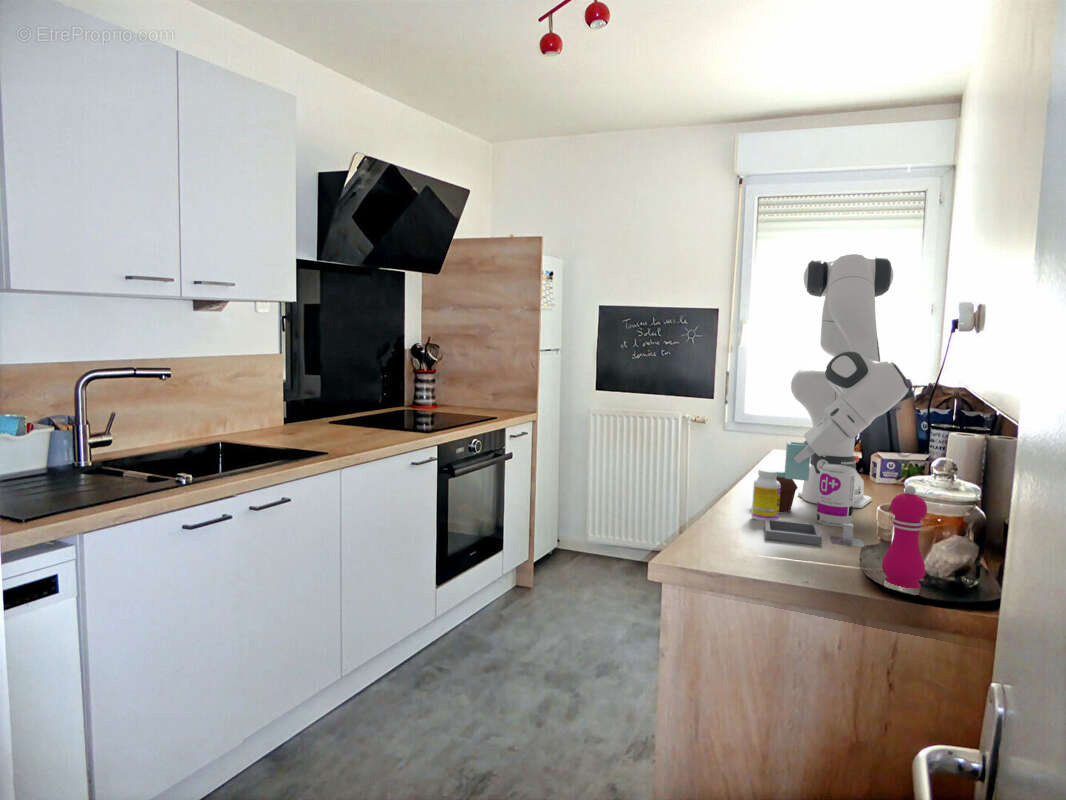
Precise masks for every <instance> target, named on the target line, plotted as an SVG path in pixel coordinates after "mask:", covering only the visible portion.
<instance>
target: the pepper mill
mask: <svg viewBox="0 0 1066 800" xmlns="http://www.w3.org/2000/svg"><path fill="white" fill-rule="evenodd" d="M916 491H917V489H916V488H915V487H914V486H913V485H907V486H906V487H905V488H904V493H900V494H897V495H896V496H895V497H894V498H893V499H892V500H891V501H890V511H891V513H892V515H893V516H894V517H893V518H892V523H891V526H892V527H894V528H893V537H892V541H891V543H890V546H889V547H888V549H887V551H886V552H885V554H884V556H883V559H882V561H881V562H882V563H881V569H882V572H883V573H884V574H885V576H886V577H884V578H885V580H886V581H887V582H889V583H891V584H894V585H897V586H901V587H905V588H915V589H916V588H920V587H922V585H921V583H919V581H921V580H922V579H923V578H924V577H925V575H926V566H925V565H926V564H925V560H924V558H923V555H922V553H921V549H920V545H919V544H920V543H919V542H920V541H919V536H920V531H922V530H923V525H924V522H923V521H922V520H923V519H924V518H925V517H926V515H927V512H928V506H927V503H926V501H925V499H923V498H922V497H921V496H919V495H917V494H916Z"/></svg>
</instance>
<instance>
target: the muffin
mask: <svg viewBox="0 0 1066 800" xmlns="http://www.w3.org/2000/svg"><path fill="white" fill-rule="evenodd" d="M757 479H759V477H758V478H757ZM776 480H777V481H778V482H779V483H780V485H781V489H780V503H779V512H783V513H789V512H790V510H791V511H792V507H793V502H794V498H795V494H796V491H797V490H798V486H797V484H796V481H795V480H794V479H785V477H778V476H777V477H776Z"/></svg>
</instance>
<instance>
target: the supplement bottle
mask: <svg viewBox="0 0 1066 800" xmlns="http://www.w3.org/2000/svg"><path fill="white" fill-rule="evenodd" d="M777 476H778V470H776V469H769V468H759V469H758V478H759V479H758V478H756V479H755V480H754V482H753V490H752V501H751V502H752V503H751V504H752V505H751V518H752V520H754V519H755V520H754V521H760V522H765V519H771V520H779V515H780V513H779V503H780V489H781V485H780V483H779V482H778V481H777V480H776V477H777Z"/></svg>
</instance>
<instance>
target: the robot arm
mask: <svg viewBox="0 0 1066 800" xmlns="http://www.w3.org/2000/svg"><path fill="white" fill-rule="evenodd" d="M893 280H894V270H893V267H892V263H891V261H890V260H889V258H888V257H887V258H886V257H884V256H877V255H875V256H874V257H873V256H865V255H864V254H861V253H858V252H847V253H843V254H841V255H839V256H835V257H833V256H832V257H827V258H824V257H817V258H814V259H812V260H810V262H808V264H807V267H806V268H805V270H804V273H803V284H804V286H805V289H806V292H807V293H808V294H809V295H811V296H814V297H817V298H819V297H820V298H822V297H824V301H823V307H822V314H821V315H822V316H821V328H820V329H821V330H820V347H821V349H822V350H823V351H824V352H825V353H827V354H828V355H829V356H831V357H833V358H832V359H831V360H830V361H829V362H828V364H827V365H826V367H817V366H816V367H815V366H814V367H807V368H800V369H799V370H798V371H796V372H795V374H794V375H793V376H792V379H791V382H790V383H791V384H790V389H791V393H792V396H793V397H794V398H795V400H796V401H797V402H798V403H800V404H801V405H802V406H803V408H805V410H806V411H807V413H808V415H809V416H810V419H811V422H812V427H811V428H809V429H808V430H807V431H806V432H805V433H804V434H803V438H804V441H802V443H808V444H809V445H807V446H806V447H805V448H804V449H803V450H802V451H800V452H799V453H797V454H796V455H795V456H794V460H795V461H796V462H797V463H800V462H802V461H803V460H804V459H806V458H808V457H810V466H809V479H808V481H806V480H803V484H802V491H799V492H798V493H797V497H800V498H802V499H803V500H804V501H806V502H809V503H813V504H816V505H817V502H818V490H819V477H820V470H821V468H822V467H823V465H824V464H838V465H846V466H850V467H852V468H853V471H854V473H855V483H854V495H853V507H852V508H858V509H862V508H864V507H866V505H868V504H869V503H870V502H872V496H869V495H866V494H864V489H865V481H864V479H863V478H862V477H861V475H860V474H859V473H858V471H857V469H856V468H857V465H856V463H858V462H859V461H860V457H859V455H855V453H854V452H855V443H856V437H857V436H858V435H859V434H860V433H862V432H863V431H864V430H865V429H867V428H868V427H869V426H871V424H872V422H873V421H874V420H875V419H876V418H878V417H881V416H883V415H884V414H886V413H887V412H888V411H890V410H891V409H892V408H893V407H894V406H896V405H897V404H898V403H899V402H901V400H902V399H904V397H905V396H906V395H907V394H908V392H909V391H910V388H911V387H910V382H909V380H908V379H907V378H906V376H905V375H904V373H903V372H902V371H901V369H900V368H899V367H898V365H897V364H896V363H894V362H892V361H891V360H888V361H887V360H886V361H881V356H880V346H879V345H880V344H879V339H878V331H877V330H878V329H877V319H876V317H877V316H876V298H878V297H880V296H883V295H884V294H885V293H888V292H889V290H890V287H891V285H892V283H893Z"/></svg>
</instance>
